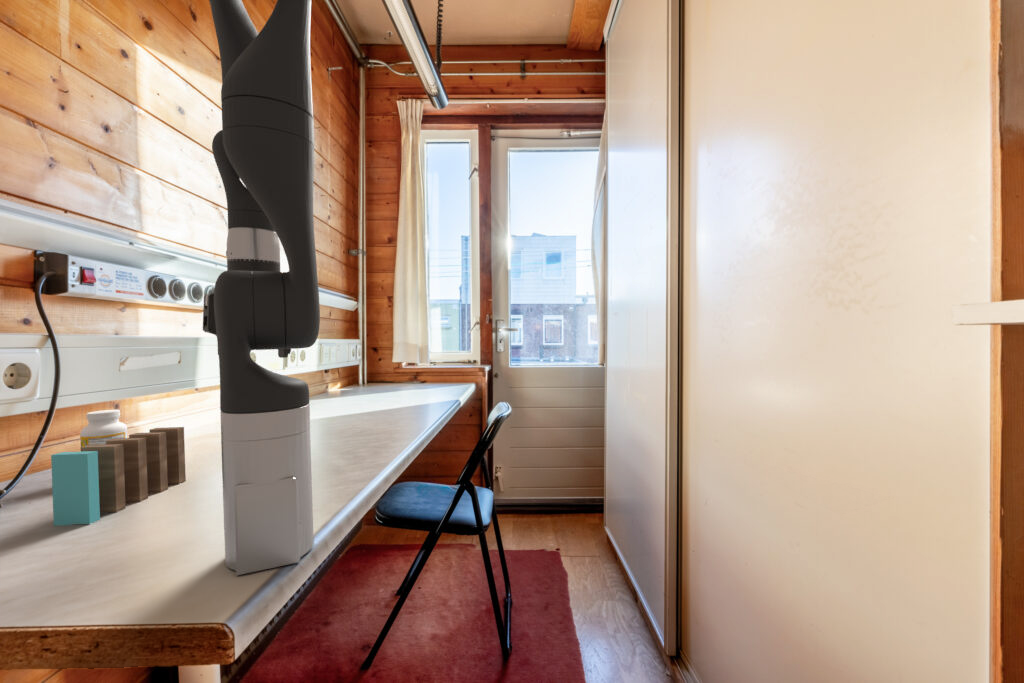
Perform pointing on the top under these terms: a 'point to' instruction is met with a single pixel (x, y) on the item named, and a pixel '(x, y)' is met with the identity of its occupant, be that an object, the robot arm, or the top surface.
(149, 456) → the domino
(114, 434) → the supplement bottle
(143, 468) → the domino
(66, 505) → the domino
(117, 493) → the domino
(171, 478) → the domino
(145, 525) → the top surface
